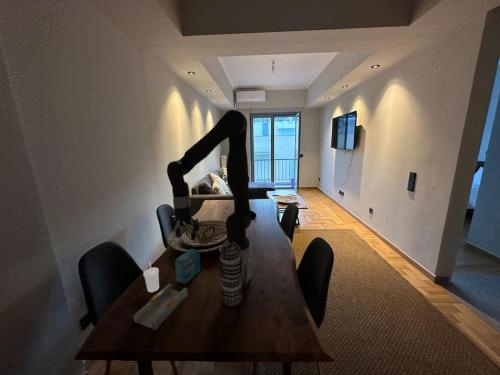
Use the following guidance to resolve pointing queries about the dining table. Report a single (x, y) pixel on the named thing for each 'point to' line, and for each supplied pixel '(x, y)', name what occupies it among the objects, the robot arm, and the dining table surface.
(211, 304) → the dining table surface
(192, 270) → the data package
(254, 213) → the battery charger
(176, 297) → the grey tray
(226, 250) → the leaning tower model
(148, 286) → the beverage cup
